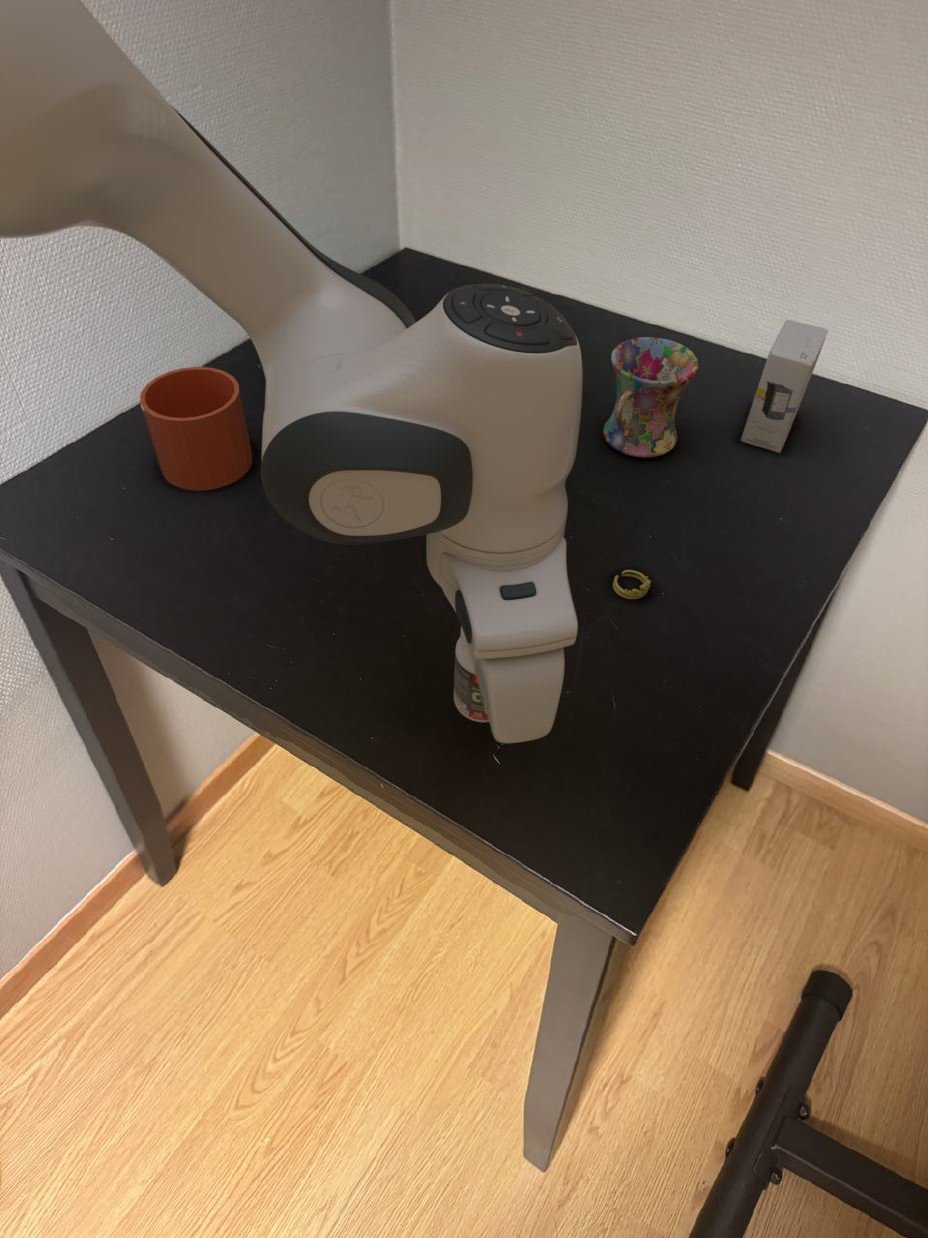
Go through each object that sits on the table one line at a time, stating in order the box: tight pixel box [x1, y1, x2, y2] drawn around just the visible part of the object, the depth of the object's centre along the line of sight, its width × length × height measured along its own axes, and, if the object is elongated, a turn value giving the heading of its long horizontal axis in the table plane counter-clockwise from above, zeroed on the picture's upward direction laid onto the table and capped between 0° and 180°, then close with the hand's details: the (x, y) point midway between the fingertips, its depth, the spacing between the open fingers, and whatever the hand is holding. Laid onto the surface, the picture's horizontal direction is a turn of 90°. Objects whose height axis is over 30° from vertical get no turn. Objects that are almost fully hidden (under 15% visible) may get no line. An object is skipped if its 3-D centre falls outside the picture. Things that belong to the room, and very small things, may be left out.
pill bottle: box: [453, 625, 490, 723], centre depth 65 cm, size 5×5×8 cm
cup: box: [139, 366, 254, 491], centre depth 93 cm, size 10×10×9 cm
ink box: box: [740, 319, 829, 454], centre depth 98 cm, size 9×5×12 cm, turn 153°
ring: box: [612, 569, 652, 600], centre depth 83 cm, size 3×3×3 cm
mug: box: [602, 336, 699, 458], centre depth 96 cm, size 12×9×11 cm
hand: (484, 675), depth 66 cm, fingers closed on pill bottle, 5 cm apart
